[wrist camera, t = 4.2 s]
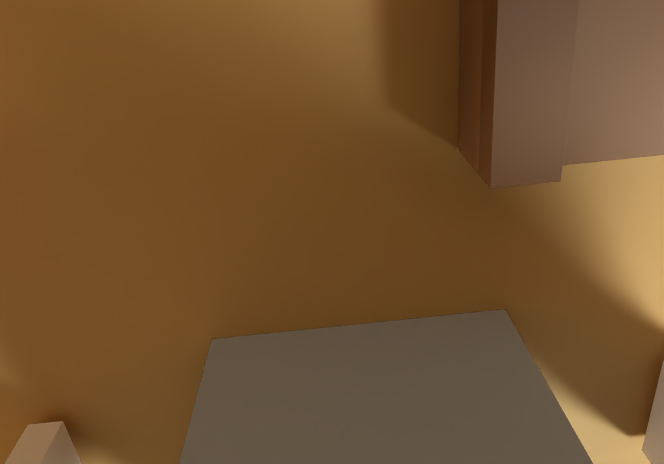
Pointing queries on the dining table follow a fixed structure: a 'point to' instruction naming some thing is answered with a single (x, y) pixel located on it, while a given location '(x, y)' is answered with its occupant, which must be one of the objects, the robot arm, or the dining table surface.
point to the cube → (380, 397)
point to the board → (558, 85)
